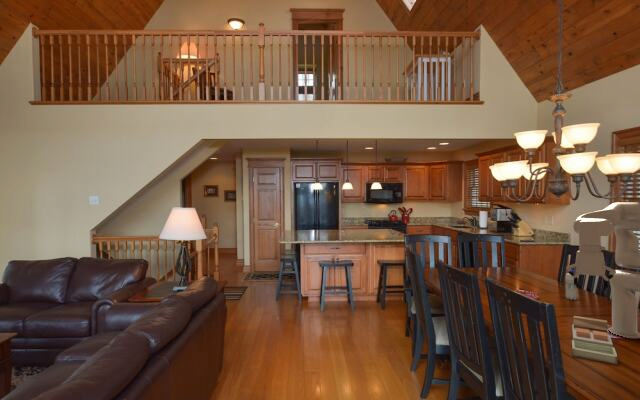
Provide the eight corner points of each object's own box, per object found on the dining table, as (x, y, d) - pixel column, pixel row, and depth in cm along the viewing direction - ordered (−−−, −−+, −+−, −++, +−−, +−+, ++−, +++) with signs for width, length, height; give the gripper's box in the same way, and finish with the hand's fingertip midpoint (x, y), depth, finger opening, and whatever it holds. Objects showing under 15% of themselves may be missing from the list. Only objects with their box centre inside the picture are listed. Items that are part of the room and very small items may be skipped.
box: (572, 346, 162) (572, 339, 162) (614, 354, 154) (614, 347, 154) (572, 355, 153) (572, 348, 153) (617, 364, 145) (617, 357, 145)
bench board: (572, 332, 179) (572, 324, 179) (607, 337, 171) (607, 329, 171) (573, 346, 162) (573, 337, 162) (612, 353, 155) (612, 344, 154)
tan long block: (573, 325, 177) (573, 315, 177) (606, 330, 169) (606, 320, 169) (573, 327, 175) (573, 317, 175) (607, 332, 167) (607, 322, 167)
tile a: (592, 334, 165) (592, 330, 165) (606, 336, 163) (606, 332, 163) (593, 338, 161) (593, 333, 161) (607, 340, 159) (607, 336, 158)
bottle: (565, 297, 237) (565, 267, 237) (578, 299, 233) (577, 268, 233) (564, 299, 232) (564, 269, 232) (577, 301, 228) (577, 270, 228)
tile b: (576, 331, 169) (576, 327, 169) (589, 334, 166) (589, 329, 166) (576, 335, 165) (576, 331, 165) (589, 337, 162) (589, 333, 162)
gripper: (614, 248, 151) (615, 288, 152) (565, 246, 161) (566, 283, 162) (616, 251, 145) (617, 292, 146) (565, 248, 155) (566, 287, 155)
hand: (590, 287), depth 154 cm, fingers open, 9 cm apart
